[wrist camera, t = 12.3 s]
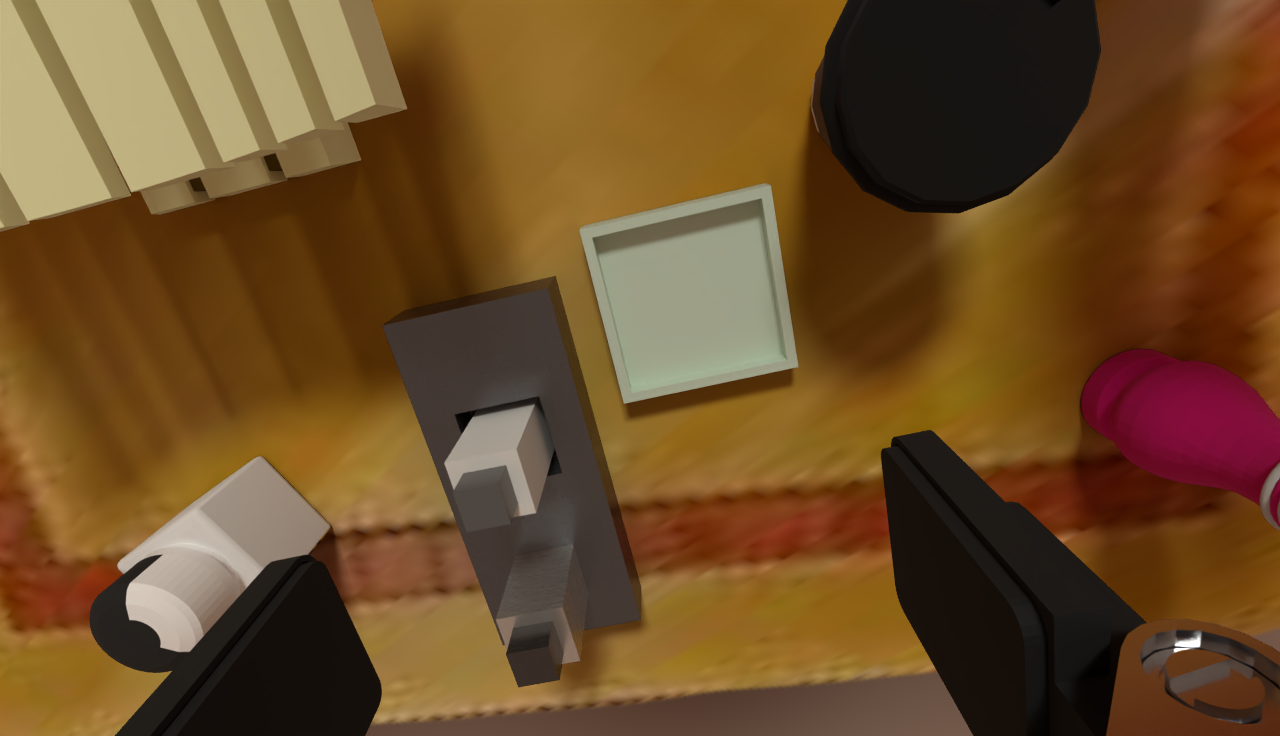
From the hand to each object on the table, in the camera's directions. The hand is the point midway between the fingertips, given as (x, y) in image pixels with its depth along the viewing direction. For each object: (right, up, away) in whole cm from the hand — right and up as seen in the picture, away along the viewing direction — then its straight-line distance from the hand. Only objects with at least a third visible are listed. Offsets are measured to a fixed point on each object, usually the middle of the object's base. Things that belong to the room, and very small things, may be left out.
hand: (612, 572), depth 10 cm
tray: (+4, +8, +29) cm, 31 cm away
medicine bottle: (-27, -7, +35) cm, 44 cm away
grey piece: (-7, -3, +33) cm, 34 cm away
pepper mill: (+33, +2, +32) cm, 46 cm away
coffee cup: (+13, +19, +26) cm, 35 cm away
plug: (-8, 0, +31) cm, 32 cm away
